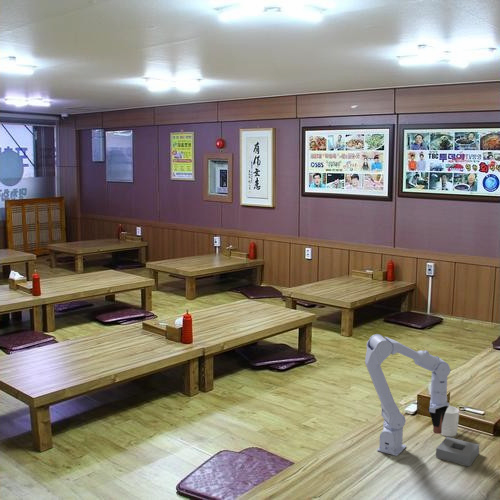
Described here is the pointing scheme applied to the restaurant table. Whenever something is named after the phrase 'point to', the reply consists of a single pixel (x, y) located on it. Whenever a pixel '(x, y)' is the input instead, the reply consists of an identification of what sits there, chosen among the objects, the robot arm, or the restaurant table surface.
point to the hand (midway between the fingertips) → (437, 424)
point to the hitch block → (457, 451)
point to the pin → (438, 428)
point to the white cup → (450, 422)
